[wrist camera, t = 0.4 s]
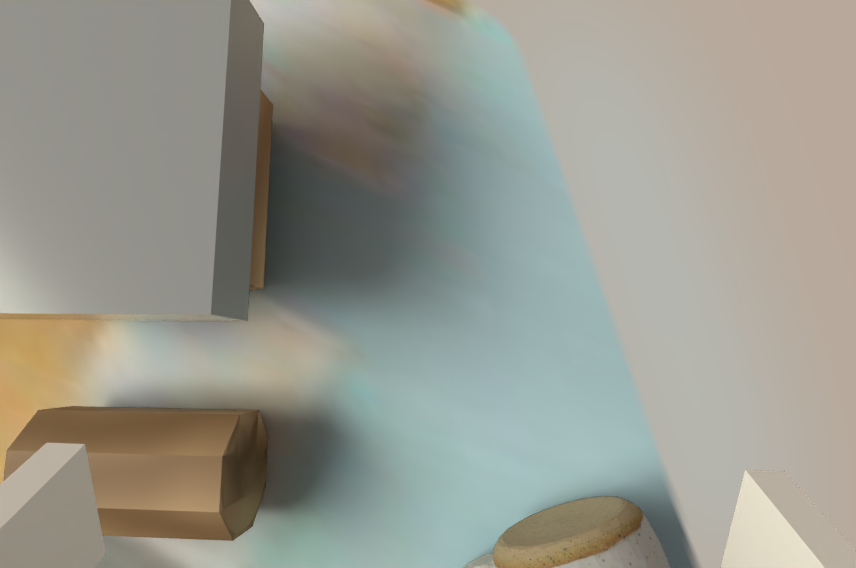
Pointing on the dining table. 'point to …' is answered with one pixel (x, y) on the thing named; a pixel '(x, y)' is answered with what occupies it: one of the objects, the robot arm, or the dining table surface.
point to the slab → (128, 158)
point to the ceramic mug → (579, 538)
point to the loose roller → (161, 466)
